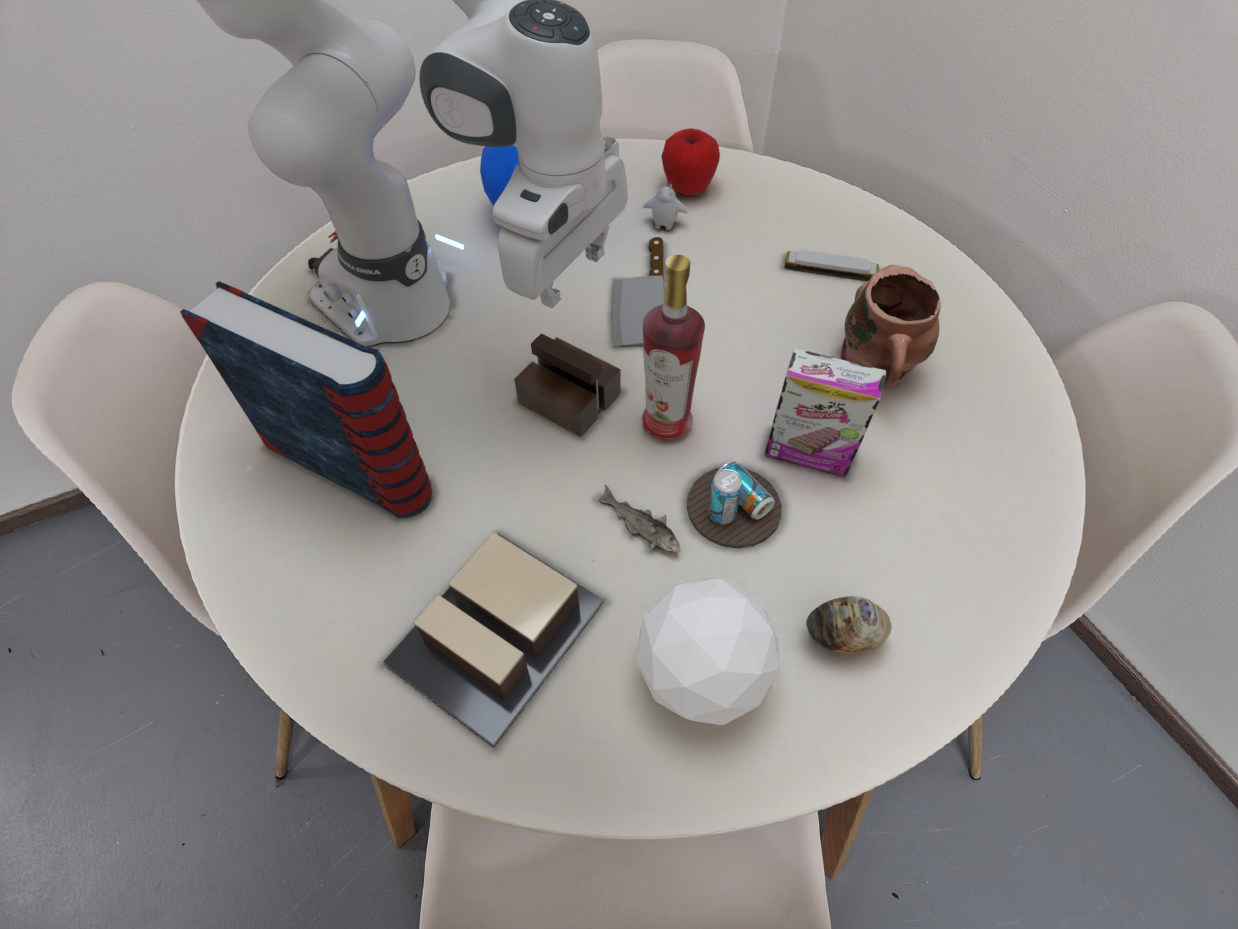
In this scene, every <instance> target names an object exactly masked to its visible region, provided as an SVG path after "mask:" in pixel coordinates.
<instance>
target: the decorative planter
mask: <svg viewBox="0 0 1238 929" xmlns="http://www.w3.org/2000/svg"><path fill="white" fill-rule="evenodd" d="M941 304H942V303H941V297H940V294H939V292H938V290H937V289H936V287H935V285H934V283H933V281H931V280H930V279H927V278H926V277H924V276H922V275H921V274H920V273H919V272H918V271H916V270H915V269H913V268H912V267H909V266H903V265H898V264H889V265H886V266H885V267H883V268H881V269H880V270H879V271H878V272H877V273H875V274H874V275H873V276H872V277H871V278H870V280H868V281H865V282H864V283H863V284H861V285H860V286H859V287H858V288H857V289H856V291H855V295H854V301H853V303H852V304H851V305H850V308H849V309H848V311H847V312H846V317H845V319H844V338H843V341H842V345H841V360H845V361H849V362H853V363H857V364H861V365H865V366H869V367H873V368H878V369H882V370H886V376H885V381H884V385H883V387H884V386H885V387H889V388H894V387H895V386H897V384H898V382H899V381H900V380H902V379H903V378H904V377H905V376H906V374H908V373H909V372H911V371H912V370H913V369H914V368H915V367H916V366H918V365H919V364H921V363H923V362H925V361H926V360H927V359H929V358H930V356H931V355H932V354H933V353H934V351H935V348H936V347H937V343H938V340H939V336H940V318H939V316H940V313H941V308H942V306H941Z"/></svg>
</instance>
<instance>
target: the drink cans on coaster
mask: <svg viewBox="0 0 1238 929" xmlns="http://www.w3.org/2000/svg"><path fill="white" fill-rule="evenodd" d="M782 507H783V506H782V502H781V499H780V496H779V493H778V491H777V490H776V489H775V487H774V486H773V484H772V483H771V482H770V481H769V480H768V479H766V478H765V477H764V476H763V475H761V474H760V473H759V472H756V471H754V470H751V469H749V468H745V467H744V466H743V465H741V464H740V463H737V462H736V461H735V460H734V459H733V460H732V459H731V460H728V461H727V462H725V463H723V464H722V466H721V467H716V468H714V469H713V468H712V469H711V470H709V471H706V472H704V473H703V474H702V475H700V476H699V477H698V478H697V479H696V480H695V481H694V482H693V484H692V486H691V488H689V491H688V493H687V501H686V510H687V514H688V518H689V520H690V522H691V524H692V525H693V526H694V529H695V530H696V531H697V532H698V533H699V534H701V536H703V537H704V538H706V540H708V541H710V542H712V543H715V544H717V545H720V546H721V547H727V548H735V549H740V548H741V549H742V548H747V547H748V548H749V547H754V546H756V545H759V544H760V543H762V542H764V541H766V540H767V539H768V538H770V536H771V535H772V534H773V533H775V531H776V530H777V528H778V526H779V523H780V522H781V519H782Z"/></svg>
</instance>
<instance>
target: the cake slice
mask: <svg viewBox="0 0 1238 929" xmlns="http://www.w3.org/2000/svg"><path fill="white" fill-rule="evenodd" d="M441 596H442V595H440V594H437V596H435V598H434V599H432V601H431V602H430V603H429V604H428V605H427V606H426V607H425V609H423V611H422V612H421V613H420V614H419V616H418V617H416V619H414V621H413V624H414V627H415V626H416V628H417V630H418V632H419V634H420V635H421V637H422V639H423V641H425V642H426V643H427V644H429V645H430V646H431V647H433V648H434V649H436V650H437V651H438V652H440V653H441V654H443V655H444V656H445V657H447V658H448V659H450V660H451V661H452V662H454V663H455V664H456V665H458V666H459V667H461V668H462V669H463V670H465V671H466V672H468V673H469V674H470V675H472V676H473V677H474V678H476V679H477V680H479V681H480V682H481V683H483V684H484V685H486V686H487V687H488V688H490V689H491V690H493V691H494V692H495V693H497V694H498V695H499V696H501V697H502V698H504V699H506V698H507V697H508V696H509V694H510V693H511V692H512V690H513V689H514V688H515V686H516V685H517V684H518V683H519V681H520V680H521V679H522V677H523V676H524V675H525V674H526V672H527V671H528V668H527V664H526V661H525V657H524V654H523V652H521V651H520V650H518V649H517V648H515V647H514V646H512V645H511V644H509V643H508V642H507V641H505V640H504V639H502V638H501V637H499V636H498V635H496V634H495V633H493V632H492V631H490V630H489V629H488V628H486V627H485V626H483V625H482V624H480V623H479V622H477V621H476V620H474V619H473V618H472V617H470V616H469V615H467V614H466V613H464V612H463V611H461V610H460V609H458V608H457V607H456V606H454V605H453V604H451V603H450V602H448V601H447V600H445V599H444V598H442V597H441Z"/></svg>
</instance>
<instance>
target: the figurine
mask: <svg viewBox="0 0 1238 929" xmlns="http://www.w3.org/2000/svg"><path fill="white" fill-rule="evenodd" d="M641 209H642V210H643V209H651V215H652V220H653V221H654V229H658V231H660V229H661V227H662V226H663V227H665V231H666V232H667V231H671V230H672V228H673V225H674V223H675V221H676V219H677V218H678V213H683V214H686V215H688V214H689V211H688V209H687V207H686V206H685V205H684V204H683V203H682V202H681V200H679V199H678V198H677V196H676V191H675V190H674V189H672V185H671V184H670V185H668V186H667V185H666V186H665V185H664V183H663V182H661V184H660V188H659V189H658V190H657V192H656V194H655V195H654V196H653V197H652V198H650V199H648V200H647V201H645V202H644V203H643V206H642V207H641Z"/></svg>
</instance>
